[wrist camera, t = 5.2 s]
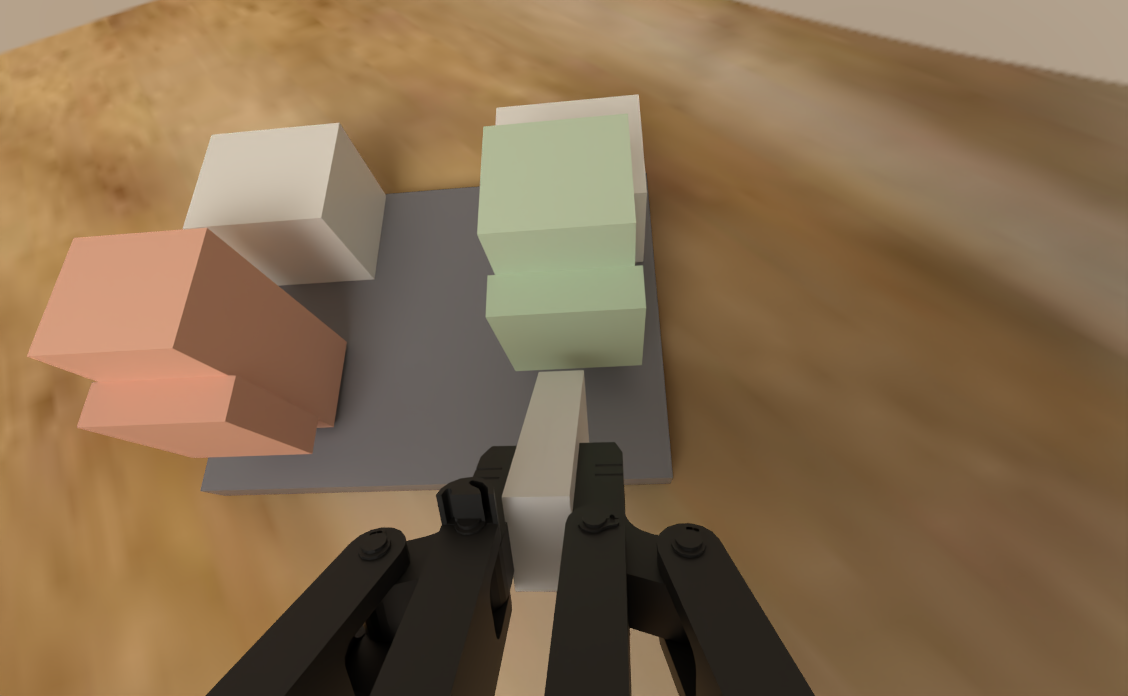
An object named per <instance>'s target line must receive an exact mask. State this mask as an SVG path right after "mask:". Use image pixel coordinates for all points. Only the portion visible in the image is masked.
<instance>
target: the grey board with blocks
mask: <svg viewBox="0 0 1128 696" xmlns="http://www.w3.org/2000/svg"><path fill="white" fill-rule="evenodd" d="M627 113H628V121H629V135H630V148H631V162H632V175H633V188H634V202H635V215H636V244H635V266H641V265H643V274H644V287H645V300H646V317H645V330H644V344H643V357H642V365H635V366H614V367H593V368H572V369H551V370H530V371H515V369H514V367H513V366H512V364H511V362H510V360H509V358H508V357H507V355H506V353H505V351H504V349H503V348H502V346H501V344H500V342H499V341H498V339H497V337H496V335H495V333H494V332H493V330H492V328H491V326H490V324H489V323H488V321H487V319H486V297H487V277H488V275H495V274H494V271H493V269H492V267H491V265H490V262H489V260H488V258H487V256H486V253H485V251H484V249H483V247H482V244H481V242H480V240H479V238H478V235H477V227H478V210H479V194H480V187H468V188H455V189H443V190H431V191H418V192H406V193H393V194H385V193H384V191H383V190H382V188H381V187H380V185H379V184H378V182H377V181H376V179H375V177H374V176H373V174H372V173H371V171H370V170H369V168H368V166H367V165H366V163H365V162H364V160H363V159H362V157H361V156H360V154H359V152H358V151H357V149H356V148H355V146H354V145H353V143H352V142H351V140H350V138H349V137H348V135H347V134H346V132H345V131H344V129H343V127H342V126H341V124H340V123H332V124H321V125H311V126H300V127H289V128H279V129H268V130H258V131H247V132H236V133H226V134H215V135H211V138H210V142H209V145H208V148H207V151H206V155H205V158H204V161H203V164H202V168H201V171H200V174H199V178H198V181H197V184H196V187H195V191H194V194H193V197H192V200H191V204H190V207H189V210H188V213H187V217H186V220H185V223H184V226H183V229H197V228H208V229H209V230H211V231H212V232H213V233H214V234H215V235H217V236H218V237H219V238H220V239H222V240H223V241H224V242H225V243H226V244H228V245H229V246H230V247H231V248H233V249H234V250H235V251H236V252H237V253H239V254H240V255H241V256H242V257H244V258H245V259H246V260H247V261H249V262H250V263H251V264H252V265H253V266H255V267H256V268H257V269H258V270H260V271H261V272H262V273H263V274H264V275H266V276H267V277H268V278H269V279H271V280H272V281H273V282H274V283H275V284H277V285H278V286H279V287H280V288H282V289H283V290H284V291H285V292H286V293H288V294H289V295H290V296H291V297H293V298H294V299H295V300H296V301H297V302H299V303H300V304H301V305H302V306H304V307H305V308H306V309H307V310H308V311H310V312H311V313H312V314H313V315H315V316H316V317H317V318H318V319H319V320H321V321H322V322H323V323H324V324H326V325H327V326H328V327H329V328H330V329H332V330H333V331H334V332H335V333H337V334H338V335H339V336H340V337H341V338H343V339H344V340H345V341H346V342H347V344H346V351H345V357H344V364H343V370H342V377H341V383H340V390H339V396H338V403H337V409H336V416H335V422H334V427H326V428H317V429H316V435H315V441H314V447H313V453H312V454H296V455H266V456H237V457H208V462H207V466H206V470H205V474H204V478H203V482H202V487H201V491H203V492H208V493H214V494H219V495H261V494H298V493H335V492H372V491H409V490H440V489H441V488H442V487H444V486H445V485H447V484H448V483H450V482H452V481H455V480H458V479H460V478H467V477H473V475H474V472H475V470H476V467H477V465H478V462H479V460H480V457H481V456H482V455H483V454H484V453H485V452H486V451H487V450H488V449H489V448H491V447H492V446H517V444H518V440H519V437H520V434H521V430H522V427H523V424H524V420H525V417H526V413H527V410H528V407H529V403H530V400H531V397H532V393H533V390H534V387H535V383H536V380H537V377H538V373H539V372H550V371H575V370H584V378H585V392H586V406H587V419H588V433H589V443H593V442H615V443H616V444H617V445H618V447H619V448H620V449H621V451H622V452H623V472H624V485H631V484H668V483H671V481H672V479H673V473H672V461H671V450H670V438H669V427H668V415H667V404H666V392H665V381H664V369H663V358H662V346H661V335H660V323H659V311H658V300H657V288H656V277H655V265H654V254H653V242H652V231H651V219H650V208H649V196H648V185H647V173H645V164H644V152H643V140H642V129H641V117H640V105H639V95H628V96H617V97H607V98H596V99H586V100H575V101H564V102H554V103H543V104H533V105H522V106H512V107H501V108H497V109H496V125H507V124H518V123H529V122H540V121H551V120H562V119H573V118H583V117H594V116H605V115H616V114H627Z"/></svg>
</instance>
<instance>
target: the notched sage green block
mask: <svg viewBox="0 0 1128 696" xmlns="http://www.w3.org/2000/svg"><path fill="white" fill-rule="evenodd" d="M477 235H478V238H479V240H480V242H481V244H482V247H483V249H484V251H485V253H486V256H487V258H488V260H489V262H490V265H491V267H492V269H493V271H494V274H495V275H488V277H487V297H486V319H487V321H488V323H489V324H490V326H491V328H492V330H493V332H494V333H495V335H496V337H497V339H498V341H499V342H500V344H501V346H502V348H503V349H504V351H505V353H506V355H507V357H508V358H509V360H510V362H511V364H512V366H513V367H514V369H515V371H530V370H551V369H572V368H593V367H614V366H635V365H642V357H643V344H644V330H645V317H646V300H645V287H644V274H643V265H641V266H635V244H636V215H635V202H634V188H633V175H632V162H631V148H630V135H629V121H628V113H627V114H616V115H605V116H594V117H583V118H573V119H562V120H551V121H540V122H529V123H518V124H507V125H496V126H485V127H483V143H482V160H481V177H480V194H479V210H478V227H477Z"/></svg>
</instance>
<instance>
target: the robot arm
mask: <svg viewBox="0 0 1128 696" xmlns="http://www.w3.org/2000/svg"><path fill="white" fill-rule="evenodd" d="M436 497H437V502H438V507H439V512H440V517H441V522H442V526H441V528H440V531H439V532H437V533H435V534H432V535H429V536H426V537H422V538H418V539H414V540H409V541H406V538H405V536H404V534H403V533H402V532H401V531H400V530H397V529H395V528H378V529H374V530H370V531H368V532H366V533H364V534H362V535H360V536H359V537H357V538H356V539H355V540H354V541H352V542H351V543H350V544H349V545H348V546H347V547H346V548H345V549H344V550H343V551H342V553H341V554H340V555H339V556H338V557H337V558H336V559H335V560H334V561H333V562H332V563H331V564H330V565H329V566H328V567H327V568H326V569H325V570H324V571H323V573H322V574H321V575H320V576H319V577H318V578H317V579H316V580H315V581H314V582H313V583H312V584H311V585H310V586H309V587H308V588H307V589H306V590H305V591H304V593H303V594H302V595H301V596H300V597H299V598H298V599H297V600H296V601H295V602H294V603H293V604H292V605H291V606H290V607H289V608H288V609H287V610H286V611H285V613H284V614H283V615H282V616H281V617H280V618H279V619H278V620H277V621H276V622H275V623H274V624H273V625H272V626H271V627H270V628H269V629H268V630H267V631H266V633H265V634H264V635H263V636H262V637H261V638H260V639H259V640H258V641H257V642H256V643H255V644H254V645H253V646H252V647H251V648H250V649H249V650H248V651H247V653H246V654H245V655H244V656H243V657H242V658H241V659H240V660H239V661H238V662H237V663H236V664H235V665H234V666H233V667H232V668H231V669H230V670H229V672H228V673H227V674H226V675H225V676H224V677H223V678H222V679H221V680H220V681H219V682H218V683H217V684H216V685H215V686H214V687H213V688H212V689H211V690H210V692H209V693H208V694H207V695H206V696H494V695H495V690H496V685H497V681H498V676H499V671H500V666H501V661H502V656H503V651H504V646H505V641H506V636H507V631H508V627H509V622H510V617H511V612H512V602H511V595H510V588H511V584H512V579H513V577H514V584H515V591H544V592H557V597H556V605H555V613H554V621H553V629H552V638H551V646H550V654H549V662H548V671H547V679H546V687H545V695H544V696H631V667H630V628H633V629H636V630H639V631H642V632H645V633H648V634H652V635H655V636H658V637H659V640H660V645H661V647H662V650H663V653H664V656H665V658H666V661H667V664H668V666H669V669H670V672H671V675H672V677H673V680H674V683H675V685H676V688H677V691H678V693H679V696H815V695H814V693H813V692H812V690H811V688H810V687H809V685H808V683H807V682H806V680H805V678H804V677H803V675H802V674H801V672H800V670H799V669H798V667H797V665H796V664H795V662H794V661H793V659H792V657H791V656H790V654H789V652H788V651H787V649H786V647H785V646H784V644H783V643H782V641H781V639H780V638H779V636H778V634H777V633H776V631H775V629H774V628H773V626H772V625H771V623H770V621H769V620H768V618H767V616H766V615H765V613H764V612H763V610H762V608H761V607H760V605H759V603H758V602H757V600H756V598H755V597H754V595H753V594H752V592H751V590H750V589H749V587H748V585H747V584H746V582H745V580H744V579H743V577H742V576H741V574H740V572H739V571H738V569H737V567H736V566H735V564H734V562H733V561H732V559H731V558H730V556H729V554H728V553H727V551H726V549H725V548H724V546H723V545H722V543H721V541H720V540H719V538H718V537H717V536H716V535H715V534H714V533H713V532H712V531H710V530H708V529H706V528H704V527H703V526H699V525H695V524H690V523H686V524H676V525H673V526H670V527H667V528H666V529H665V530H664V531H662V532H661V533H660V535H659V536H658V535H654V534H650V533H647V532H644V531H642V530H640V529H638V528H636V527H635V526H633V525H632V524H631V523H630V522H629V520H628V519H627V517H626V515H625V494H624V472H623V452H622V451H621V449H620V448H619V447H618V445H617V444H616V443H615V442H593V443H589V433H588V419H587V406H586V392H585V378H584V370H575V371H550V372H539V373H538V377H537V380H536V383H535V387H534V390H533V393H532V397H531V400H530V403H529V407H528V410H527V413H526V417H525V420H524V424H523V427H522V430H521V434H520V437H519V440H518V444H517V446H492V447H491V448H489V449H488V450H487V451H486V452H485V453H484V454H483V455H482V456H481V457H480V460H479V462H478V465H477V467H476V470H475V472H474V475H473V477H467V478H460V479H458V480H455V481H452V482H450V483H448V484H447V485H445V486H444V487H442V488H441V489H440V491H439V492H438V493H437V494H436Z"/></svg>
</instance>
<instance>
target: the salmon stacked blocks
mask: <svg viewBox="0 0 1128 696" xmlns="http://www.w3.org/2000/svg"><path fill="white" fill-rule="evenodd" d="M346 344H347V342H346V341H345V340H344V339H343V338H341V337H340V336H339V335H338V334H337V333H335V332H334V331H333V330H332V329H330V328H329V327H328V326H327V325H326V324H324V323H323V322H322V321H321V320H319V319H318V318H317V317H316V316H315V315H313V314H312V313H311V312H310V311H308V310H307V309H306V308H305V307H304V306H302V305H301V304H300V303H299V302H297V301H296V300H295V299H294V298H293V297H291V296H290V295H289V294H288V293H286V292H285V291H284V290H283V289H282V288H280V287H279V286H278V285H277V284H275V283H274V282H273V281H272V280H271V279H269V278H268V277H267V276H266V275H264V274H263V273H262V272H261V271H260V270H258V269H257V268H256V267H255V266H253V265H252V264H251V263H250V262H249V261H247V260H246V259H245V258H244V257H242V256H241V255H240V254H239V253H237V252H236V251H235V250H234V249H233V248H231V247H230V246H229V245H228V244H226V243H225V242H224V241H223V240H222V239H220V238H219V237H218V236H217V235H215V234H214V233H213V232H212V231H211V230H209V229H208V228H197V229H184V230H171V231H158V232H145V233H132V234H119V235H106V236H93V237H80V238H74V239H73V241H72V244H71V246H70V249H69V251H68V254H67V256H66V259H65V261H64V264H63V266H62V269H61V271H60V274H59V276H58V279H57V281H56V284H55V287H54V289H53V292H52V294H51V297H50V299H49V302H48V304H47V307H46V309H45V312H44V314H43V317H42V319H41V322H40V324H39V327H38V329H37V332H36V334H35V337H34V340H33V342H32V345H31V347H30V350H29V352H28V355H27V357H30V358H33V359H36V360H39V361H41V362H44V363H47V364H50V365H53V366H55V367H58V368H61V369H64V370H67V371H69V372H72V373H75V374H78V375H81V376H83V377H86V378H89V379H92V380H95V381H97V382H92V384H91V387H90V390H89V393H88V396H87V399H86V402H85V405H84V407H83V410H82V413H81V416H80V419H79V422H78V425H77V428H80V429H84V430H88V431H92V432H96V433H99V434H103V435H107V436H111V437H115V438H119V439H122V440H126V441H130V442H134V443H138V444H142V445H146V446H149V447H153V448H157V449H161V450H165V451H169V452H172V453H176V454H180V455H184V456H188V457H192V458H208V457H237V456H266V455H296V454H312V453H313V447H314V441H315V435H316V429H317V428H326V427H334V422H335V416H336V409H337V403H338V396H339V390H340V383H341V377H342V370H343V364H344V357H345V351H346Z"/></svg>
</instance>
